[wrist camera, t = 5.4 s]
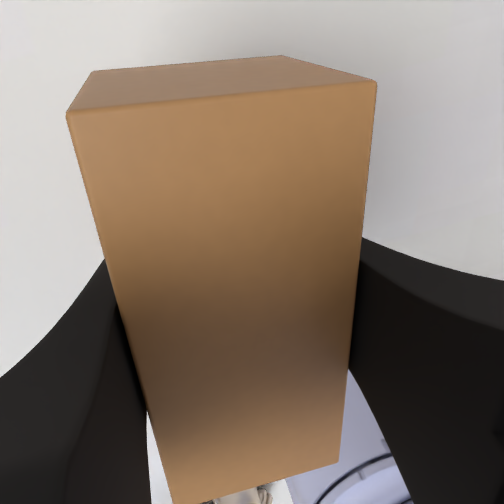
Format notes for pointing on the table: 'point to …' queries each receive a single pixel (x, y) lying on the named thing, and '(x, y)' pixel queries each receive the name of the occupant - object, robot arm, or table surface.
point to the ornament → (246, 497)
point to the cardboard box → (232, 255)
